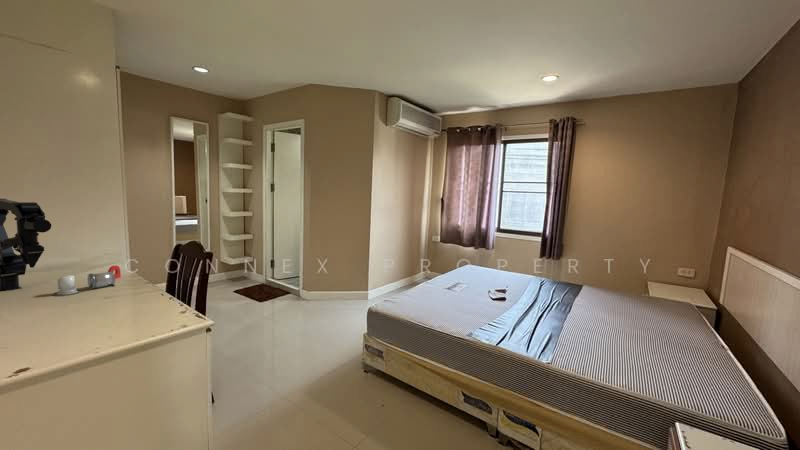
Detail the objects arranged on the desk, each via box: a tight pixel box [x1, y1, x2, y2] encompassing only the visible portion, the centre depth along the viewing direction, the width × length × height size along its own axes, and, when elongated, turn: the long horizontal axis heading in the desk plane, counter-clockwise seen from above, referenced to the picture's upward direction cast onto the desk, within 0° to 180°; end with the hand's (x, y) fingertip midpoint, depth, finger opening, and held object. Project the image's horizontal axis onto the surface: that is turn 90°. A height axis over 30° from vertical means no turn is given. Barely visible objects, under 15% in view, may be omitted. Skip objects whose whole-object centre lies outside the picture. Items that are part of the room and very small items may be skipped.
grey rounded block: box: [87, 271, 116, 290], centre depth 152 cm, size 8×8×7 cm
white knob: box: [57, 274, 77, 294], centre depth 142 cm, size 6×5×7 cm
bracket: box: [107, 265, 122, 280], centre depth 162 cm, size 12×4×8 cm, turn 6°
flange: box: [52, 288, 83, 297], centre depth 143 cm, size 9×9×1 cm
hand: (29, 265), depth 140 cm, fingers open, 9 cm apart
